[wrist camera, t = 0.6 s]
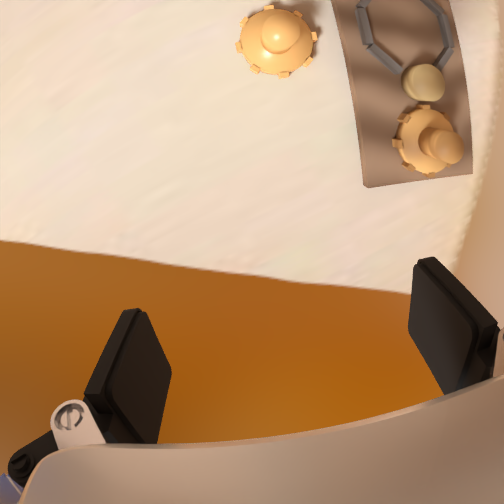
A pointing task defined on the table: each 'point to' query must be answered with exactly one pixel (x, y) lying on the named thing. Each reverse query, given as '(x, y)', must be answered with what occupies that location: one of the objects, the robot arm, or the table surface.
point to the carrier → (406, 89)
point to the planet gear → (276, 41)
